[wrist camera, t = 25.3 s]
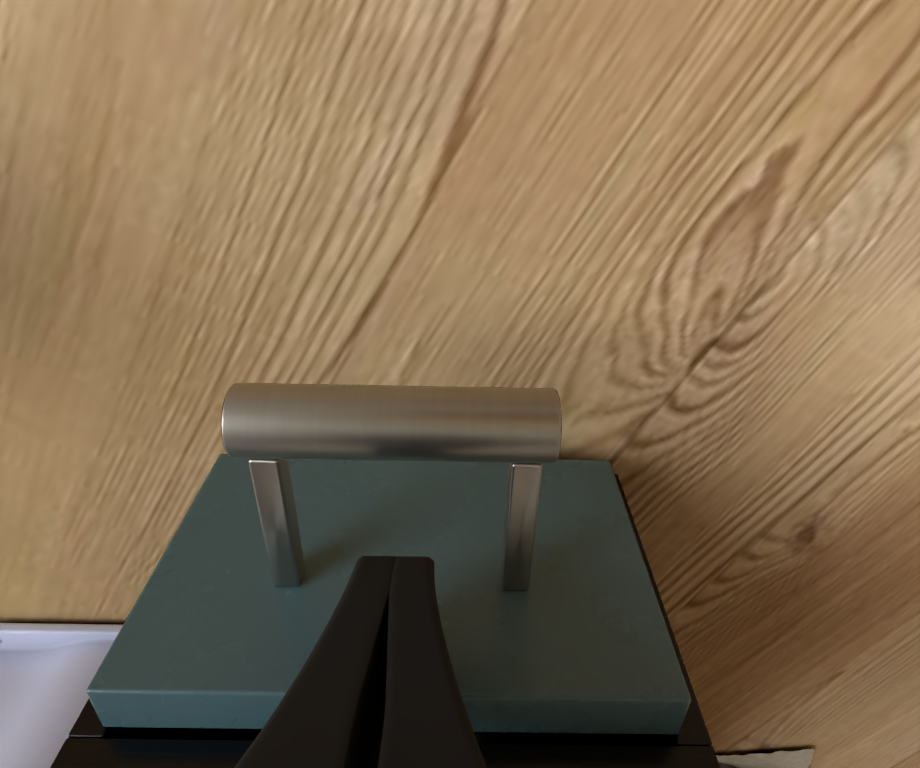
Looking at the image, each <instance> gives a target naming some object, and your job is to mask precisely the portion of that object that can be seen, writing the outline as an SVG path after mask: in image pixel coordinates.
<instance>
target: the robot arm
mask: <svg viewBox="0 0 920 768" xmlns="http://www.w3.org/2000/svg"><path fill="white" fill-rule="evenodd" d="M122 626H123V625H116V624H47V623H0V768H50V767H51V765H52V763H53V762H54V760H55V758H56V756H57V754H58V753H59V751H60V749H61V747H62V745H63V744H64V742H65V740H66V739H67V738H69V737H68V735H69V733H70V731H71V729H72V727H73V726H74V724H75V722H76V720H77V718H78V717H79V715H80V713H81V711H82V709H83V708H84V706H85V704H86V702H87V700H88V699H89V697H88V695H87V693H86V691H87V688H88V686H89V684H90V682H91V681H92V679H93V677H94V675H95V673H96V672H97V670H98V668H99V666H100V665H101V663H102V661H103V659H104V658H105V656H106V654H107V652H108V651H109V649H110V647H111V645H112V644H113V642H114V640H115V638H116V637H117V635H118V633H119V631H120V630H121V628H122ZM234 768H487V765H486V763H485V760H484V758H483V755H482V753H481V750H480V748H479V745H478V742H477V740H476V737H475V734H474V732H473V729H472V726H471V723H470V720H469V718H468V715H467V712H466V709H465V706H464V703H463V700H462V697H461V694H460V691H459V688H458V684H457V681H456V678H455V674H454V671H453V667H452V664H451V660H450V656H449V653H448V649H447V645H446V641H445V638H444V633H443V629H442V625H441V620H440V614H439V609H438V604H437V597H436V590H435V575H434V561H433V560H432V559H431V558H430V557H418V556H396V557H395V556H362V557H360V558H359V559H358V560H357V562H356V564H355V567H354V569H353V572H352V574H351V577H350V579H349V581H348V583H347V586H346V588H345V590H344V592H343V594H342V596H341V598H340V600H339V602H338V604H337V606H336V608H335V610H334V612H333V614H332V616H331V618H330V620H329V622H328V624H327V625H326V627H325V629H324V631H323V632H322V634H321V636H320V638H319V639H318V641H317V643H316V645H315V647H314V648H313V650H312V652H311V654H310V655H309V657H308V659H307V661H306V662H305V664H304V666H303V667H302V669H301V670H300V672H299V674H298V675H297V677H296V678H295V680H294V681H293V683H292V685H291V686H290V688H289V689H288V691H287V692H286V694H285V696H284V697H283V699H282V700H281V702H280V703H279V705H278V707H277V708H276V710H275V711H274V713H273V714H272V715H271V717H270V718H269V720H268V721H267V723H266V724H265V726H264V727H263V729H262V730H261V731H260V733H259V734H258V736H257V737H256V739H255V740H254V741H253V743H252V744H251V745H250V747H249V748H248V750H247V751H246V752H245V754H244V755H243V756H242V758H241V759H240V760H239V762H238V763H237V765H236V766H235V767H234Z"/></svg>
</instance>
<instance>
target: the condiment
mask: <svg viewBox="0 0 920 768" xmlns="http://www.w3.org/2000/svg"><path fill="white" fill-rule="evenodd" d="M814 750H815V749H803V750H800V751H776V752H774V753H770V754H764V753H756V754H748V755H742V756H741V755H730V756H727V755H722V756H721V755H716V757H717V759H718V762H719V765H720V768H809V766H810V762H811V761H812V758H813V754H814Z"/></svg>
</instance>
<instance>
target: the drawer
mask: <svg viewBox="0 0 920 768" xmlns="http://www.w3.org/2000/svg"><path fill="white" fill-rule="evenodd" d="M221 433H222V440H223V444H224V448H225V450H226V452H227V454H220V455H219V457H218V459H217V461H216V463H215V464H214V466H213V468H212V470H211V471H210V473H209V475H208V477H207V478H206V480H205V482H204V484H203V485H202V487H201V489H200V491H199V492H198V494H197V496H196V498H195V499H194V501H193V503H192V505H191V506H190V508H189V510H188V512H187V514H186V515H185V517H184V519H183V521H182V522H181V524H180V526H179V528H178V529H177V531H176V533H175V535H174V536H173V538H172V540H171V542H170V543H169V545H168V547H167V549H166V550H165V552H164V554H163V556H162V557H161V559H160V561H159V563H158V564H157V566H156V568H155V570H154V572H153V573H152V575H151V577H150V579H149V580H148V582H147V584H146V586H145V587H144V589H143V591H142V593H141V594H140V596H139V598H138V600H137V601H136V603H135V605H134V607H133V608H132V610H131V612H130V614H129V615H128V617H127V619H126V621H125V623H124V624H123V626H122V628H121V630H120V631H119V633H118V635H117V637H116V638H115V640H114V642H113V644H112V645H111V647H110V649H109V651H108V652H107V654H106V656H105V658H104V659H103V661H102V663H101V665H100V666H99V668H98V670H97V672H96V673H95V675H94V677H93V679H92V681H91V682H90V684H89V686H88V688H87V691H86V693H87V695H88V697H89V699H90V701H91V703H92V705H93V707H94V709H95V711H96V713H97V715H98V717H99V719H100V721H101V723H102V725H103V726H105V727H147V728H164V730H163V733H162V735H161V738H160V739H217V740H255V739H256V737H257V736H258V734H259V733H260V731H261V730H262V729H263V727H264V726H265V724H266V723H267V721H268V720H269V718H270V717H271V715H272V714H273V713H274V711H275V710H276V708H277V707H278V705H279V703H280V702H281V700H282V699H283V697H284V696H285V694H286V692H287V691H288V689H289V688H290V686H291V685H292V683H293V681H294V680H295V678H296V677H297V675H298V674H299V672H300V670H301V669H302V667H303V666H304V664H305V662H306V661H307V659H308V657H309V655H310V654H311V652H312V650H313V648H314V647H315V645H316V643H317V641H318V639H319V638H320V636H321V634H322V632H323V631H324V629H325V627H326V625H327V624H328V622H329V620H330V618H331V616H332V614H333V612H334V610H335V608H336V606H337V604H338V602H339V600H340V598H341V596H342V594H343V592H344V590H345V588H346V586H347V583H348V581H349V579H350V577H351V574H352V572H353V569H354V567H355V564H356V562H357V560H358V559H359V558H360V557H362V556H395V557H396V556H418V557H430V558H431V559H432V560H433V561H434V575H435V590H436V597H437V604H438V609H439V614H440V620H441V625H442V629H443V633H444V638H445V641H446V645H447V649H448V653H449V656H450V660H451V664H452V667H453V671H454V674H455V678H456V681H457V684H458V688H459V691H460V694H461V697H462V700H463V703H464V706H465V709H466V712H467V715H468V718H469V720H470V723H471V726H472V729H473V732H497V743H521V744H597V745H632V742H631V738H630V734H674V735H676V734H679V732H680V730H681V727H682V724H683V721H684V719H685V716H686V713H687V710H688V707H689V705H690V702H691V697H690V694H689V691H688V688H687V685H686V682H685V679H684V676H683V673H682V670H681V667H680V664H679V662H678V659H677V656H676V653H675V650H674V647H673V644H672V641H671V638H670V635H669V632H668V630H667V627H666V624H665V621H664V618H663V615H662V612H661V609H660V606H659V603H658V600H657V597H656V595H655V592H654V589H653V586H652V583H651V580H650V577H649V574H648V571H647V568H646V565H645V562H644V560H643V557H642V554H641V551H640V548H639V545H638V542H637V539H636V536H635V533H634V530H633V528H632V525H631V522H630V519H629V516H628V513H627V510H626V507H625V504H624V501H623V498H622V495H621V493H620V490H619V487H618V484H617V481H616V478H615V475H614V472H613V469H612V466H611V463H610V461H608V460H559V459H558V456H559V452H560V446H561V433H562V417H561V404H560V398H559V395H558V392H557V390H556V389H553V388H499V387H442V386H386V385H329V384H272V383H236V384H233V385H232V386H231V387H230V388H229V390H228V392H227V394H226V396H225V399H224V403H223V408H222V415H221Z"/></svg>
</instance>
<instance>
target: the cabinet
mask: <svg viewBox="0 0 920 768" xmlns="http://www.w3.org/2000/svg"><path fill="white" fill-rule="evenodd" d="M614 475H615V478H616V481H617V484H618V487H619V490H620V493H621V495H622V498H623V501H624V504H625V507H626V510H627V513H628V516H629V519H630V522H631V525H632V528H633V530H634V533H635V536H636V539H637V542H638V545H639V548H640V551H641V554H642V557H643V560H644V562H645V565H646V568H647V571H648V574H649V577H650V580H651V583H652V586H653V589H654V592H655V595H656V597H657V600H658V603H659V606H660V609H661V612H662V615H663V618H664V621H665V624H666V627H667V630H668V632H669V635H670V638H671V641H672V644H673V647H674V650H675V653H676V656H677V659H678V662H679V664H680V667H681V670H682V673H683V676H684V679H685V682H686V685H687V688H688V691H689V694H690V697H691V702H690V705H689V707H688V710H687V713H686V716H685V719H684V721H683V724H682V727H681V730H680V732H679V734H676V735H674V734H630V738H631V742H632V745H597V744H521V743H478V745H479V748H480V750H481V753H482V755H483V758H484V760H485V763H486V765H487V768H720V765H719V762H718V759H717V757H716V754H715V751H714V748H713V747H712V742H711V740H710V737H709V734H708V731H707V728H706V725H705V722H704V720H703V717H702V714H701V711H700V708H699V705H698V703H697V700H696V697H695V694H694V691H693V688H692V685H691V683H690V680H689V677H688V674H687V671H686V668H685V665H684V663H683V660H682V657H681V654H680V651H679V648H678V645H677V643H676V640H675V637H674V634H673V631H672V628H671V625H670V623H669V620H668V617H667V614H666V611H665V608H664V606H663V603H662V600H661V597H660V594H659V591H658V588H657V586H656V583H655V580H654V577H653V574H652V571H651V568H650V566H649V563H648V560H647V557H646V554H645V551H644V548H643V546H642V543H641V540H640V537H639V534H638V531H637V528H636V526H635V523H634V520H633V517H632V514H631V511H630V509H629V506H628V503H627V500H626V497H625V494H624V491H623V489H622V486H621V483H620V480H619V477H618V475H617V474H614ZM163 730H164V728H147V727H105V726H103V725H102V723H101V721H100V719H99V717H98V715H97V713H96V711H95V709H94V707H93V705H92V703H91V701H90V699H88V700H87V702H86V704H85V706H84V708H83V709H82V711H81V713H80V715H79V717H78V718H77V720H76V722H75V724H74V726H73V727H72V729H71V731H70V733H69V735H68V737H69V738H67V739H66V740H65V742H64V744H63V745H62V747H61V749H60V751H59V753H58V754H57V756H56V758H55V760H54V762H53V763H52V765H51V767H50V768H234V767H235V766H236V765H237V763H238V762H239V760H240V759H241V758H242V756H243V755H244V754H245V752H246V751H247V750H248V748H249V747H250V745H251V744H252V743H253V741H254V740H217V739H160V738H161V735H162V733H163Z"/></svg>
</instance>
